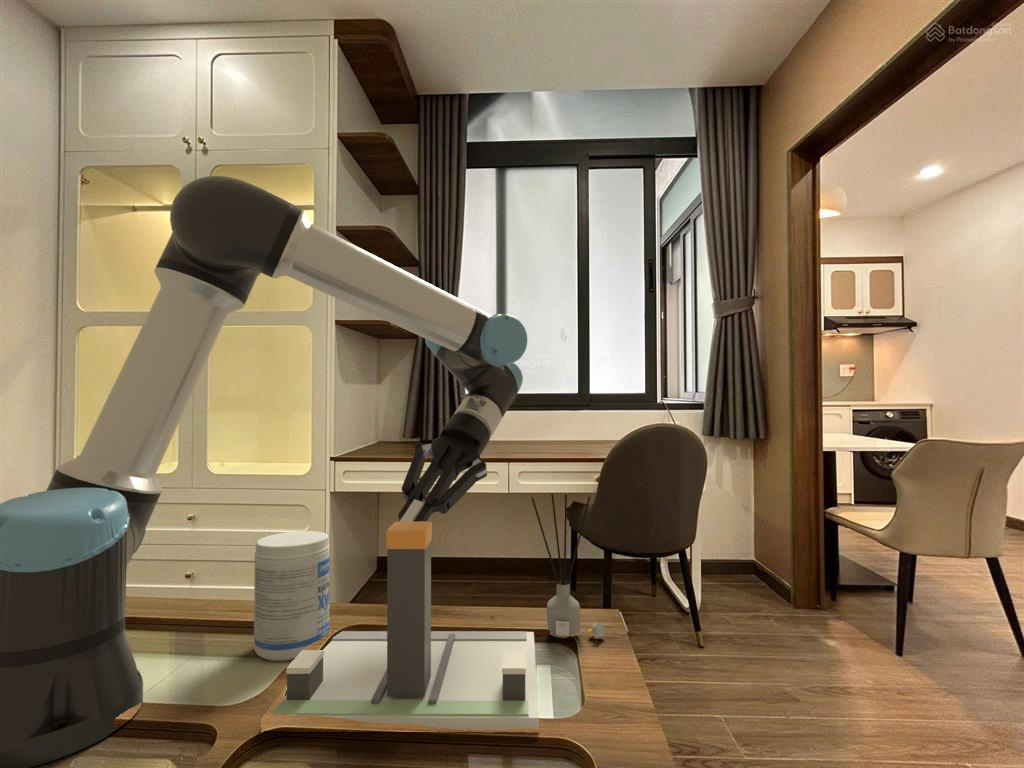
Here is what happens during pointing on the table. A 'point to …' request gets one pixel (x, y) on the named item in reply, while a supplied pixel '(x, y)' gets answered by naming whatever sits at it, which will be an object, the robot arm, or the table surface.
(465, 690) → the panel
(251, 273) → the robot arm
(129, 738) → the table surface
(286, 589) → the supplement tub
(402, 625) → the handle
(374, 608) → the table surface
